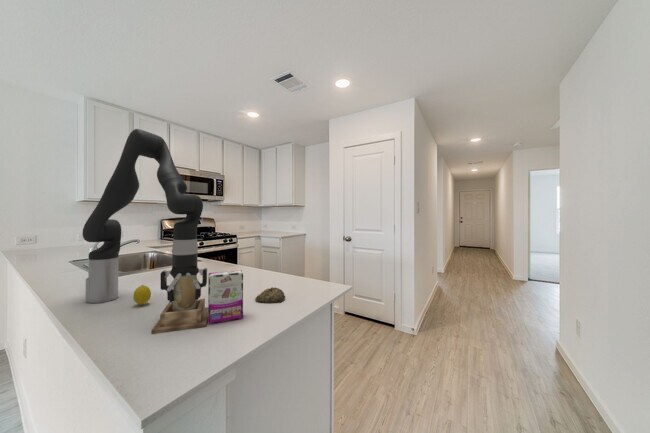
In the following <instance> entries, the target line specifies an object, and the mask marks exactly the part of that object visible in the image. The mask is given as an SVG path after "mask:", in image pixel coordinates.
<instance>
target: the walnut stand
mask: <svg viewBox="0 0 650 433" xmlns="http://www.w3.org/2000/svg"><path fill="white" fill-rule="evenodd" d="M205 299H206V298H199V299H198V300H196V308H195V310H185V311H174V310H172V309H173V301H172V302H169V301H168V303H167V305H166V306H165V307H164V308H163V309H162V311H161V313H160V314H159V319H158V320H157V322H156V323H155V325H154V326H153V328H152V329H151V332H150V333H151V334H152V335H153V334H154V335H155V334H161V333H171V332H177V331H178V332H179V331H185V330H192V329H193V330H194V329H200V328H207V324H208V306H205V304H206V302H205V301H206V300H205Z"/></svg>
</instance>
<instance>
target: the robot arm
mask: <svg viewBox="0 0 650 433" xmlns="http://www.w3.org/2000/svg"><path fill="white" fill-rule="evenodd" d="M140 156H142V157H145V158H149V159H154V160H155V161H156V162H157V163H158V168H157V170H156V177H157V181H158V182H159V184H160V186H161V188H162V189H163V191H164V194H165V198H166V205H167V206H166V207H167V209H168V210H169V211H170V213H172V214H175V215H186V216H185V218H184V219H183V220H181V221H177V222H175V223H174V224H173V235H172V236H173V240H172V248H171V254H172V257H171V260H172V263H171V269H170V270H162V271H161V273H160V290H162V291H163V290H164V291H166V292H167V294H166V297H167V298H166V299H167V301H168V303H169V302H173V287H174V285H175V284H176V282H177V281H178V280H179V278H180V277H181V276H184V275H186V276H192V275H198V274H199V275H200V276H202V280H201V281H202V282H200V281H199V279H198V278H197V281H196V280H195V279H194V278H193V284H195V287H196V300H198V299H201V296H202V288H203V287H206V286H207V285H208V268H206V267H204V268H199V267H198V254H199V253H198V251H199V250H198V248H199V247H198V226H199V223H200V219H201V216H202V213H203V210H204V203H203V200H202V198H201V197H200V195H197V194H190V193H186V192H187V190H188V185H187V184H186V182H185V180H184V179H183V177H182V175H181V174H180V173H179V171H178V169H177V167H176V165H175V163H174V159H173V157H172V155H171V152H170V150H169V147H168V144H167V142H166V141H165V139H164V138H163V137H162V136H161V135H157V134H155V133H152V132H149V131H146V130H143V129H140V128H135V129H133V130H131V132H130V133H129V134H128V135H127V139H126V141H125V144H124V146H123V149H122V152H121V155H120V158H119V160H118V163H117V165H116V167H115V169H114V171H113V172H112V175H111V177H110V179H109V181H108V182H107V185H106V187H105V188H104V191H103V193H102V196H101V197H100V199H99V201H98V203H97V205H96V206H95V208H94V210H92V213H90V215H89V217H88V218H87V220H86V221H85V224H84V225H83V228H82V233H81V234H82V238H83V239H84V241H85V242H88V243H102V242H103V244H102V245H101V246H100V247H98V248H96V249H93V250H92V251H90V252H88V277H87V278H86V279H85V294H84V295H85V304H86V303H90V304H94V303H95V304H97V303H98V304H99V303H106V302H110V301H114V300H116V299H117V298H119V256H120V255H119V254H120V251H121V243H122V242H121V241H122V226H121V223H120V222H119V220H117V219H113V218H111V217H112V216H114V215H115V214H116V213H117V212H119V211H121V210H122V209H124V208H125V207H127V206H128V205H129V204H131V203H132V202H133V200H134V199H135V197H136V195H137V193H138V191H139V189H140V180H139V178H138V175H137V171H136V163H137V160H138V158H139V157H140ZM110 218H111V219H110ZM169 276H171V277H172V278H173V280H172V281H171V283H170V284H169V285H168V281H167V279H168V278H169Z"/></svg>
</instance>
